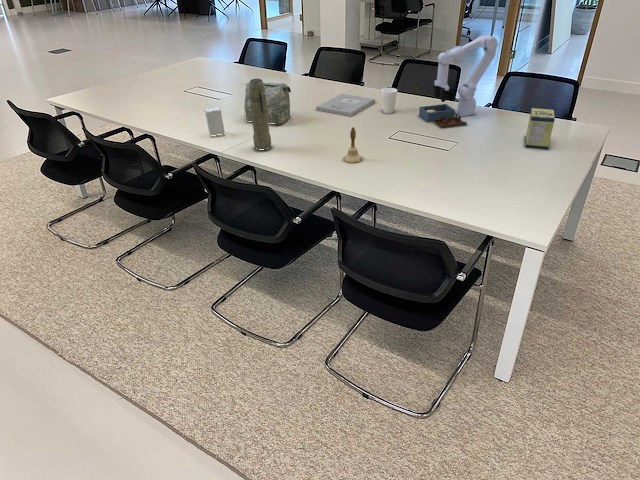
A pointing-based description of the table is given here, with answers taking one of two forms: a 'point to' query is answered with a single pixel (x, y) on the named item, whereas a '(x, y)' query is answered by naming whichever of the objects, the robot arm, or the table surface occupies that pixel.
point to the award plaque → (345, 104)
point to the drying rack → (450, 122)
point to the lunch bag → (272, 102)
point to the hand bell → (352, 149)
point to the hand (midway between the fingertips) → (440, 99)
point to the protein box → (540, 128)
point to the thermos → (259, 115)
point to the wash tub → (432, 116)
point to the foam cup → (388, 99)
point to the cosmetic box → (214, 121)
